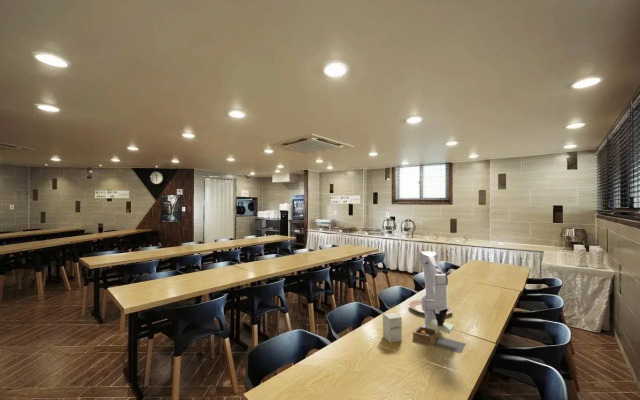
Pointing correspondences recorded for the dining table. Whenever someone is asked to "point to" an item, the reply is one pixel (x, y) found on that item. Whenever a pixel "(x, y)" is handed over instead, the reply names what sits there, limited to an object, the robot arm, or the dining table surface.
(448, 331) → the lid
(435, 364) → the dining table surface
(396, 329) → the supplement box
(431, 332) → the box
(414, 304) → the dinner plate
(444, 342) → the mat
